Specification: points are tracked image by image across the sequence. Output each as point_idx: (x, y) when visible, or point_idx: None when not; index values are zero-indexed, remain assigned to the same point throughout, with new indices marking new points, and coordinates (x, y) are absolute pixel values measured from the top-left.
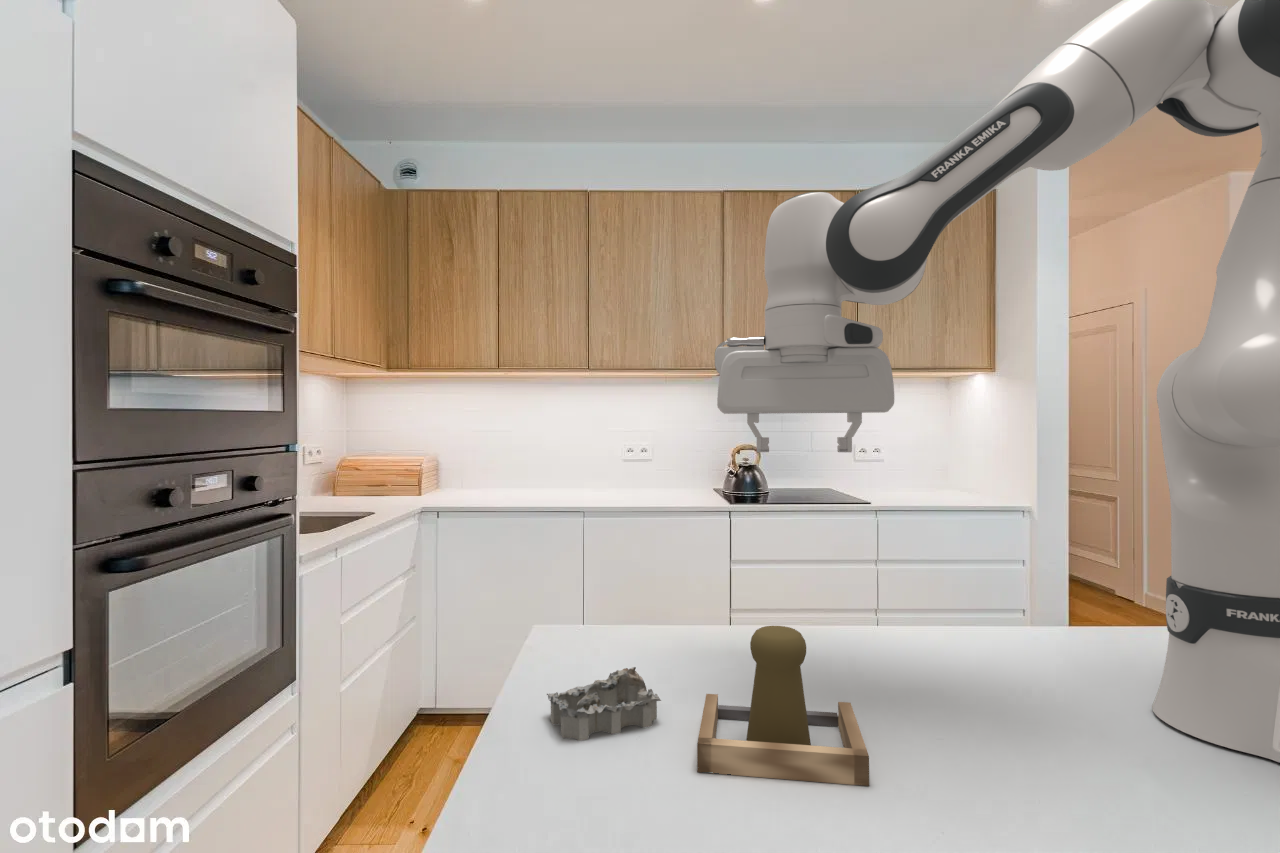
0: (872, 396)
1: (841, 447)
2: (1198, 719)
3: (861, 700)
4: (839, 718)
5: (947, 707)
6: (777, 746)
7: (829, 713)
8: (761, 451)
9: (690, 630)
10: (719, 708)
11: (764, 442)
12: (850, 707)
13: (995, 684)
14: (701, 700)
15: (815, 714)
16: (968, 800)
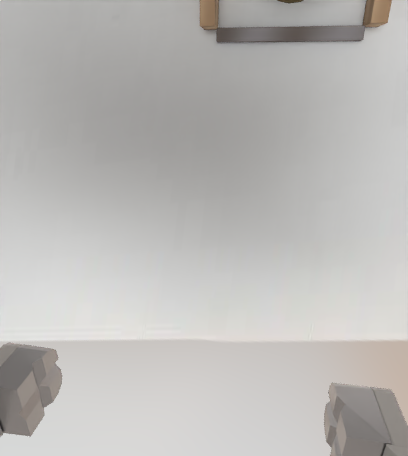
0: None
1: (35, 355)
2: None
3: (182, 115)
4: (216, 13)
5: (97, 108)
6: None
7: (225, 36)
8: (366, 387)
9: (364, 324)
10: (363, 26)
11: (365, 415)
12: (202, 7)
13: (44, 179)
14: (377, 86)
15: (242, 30)
16: None
